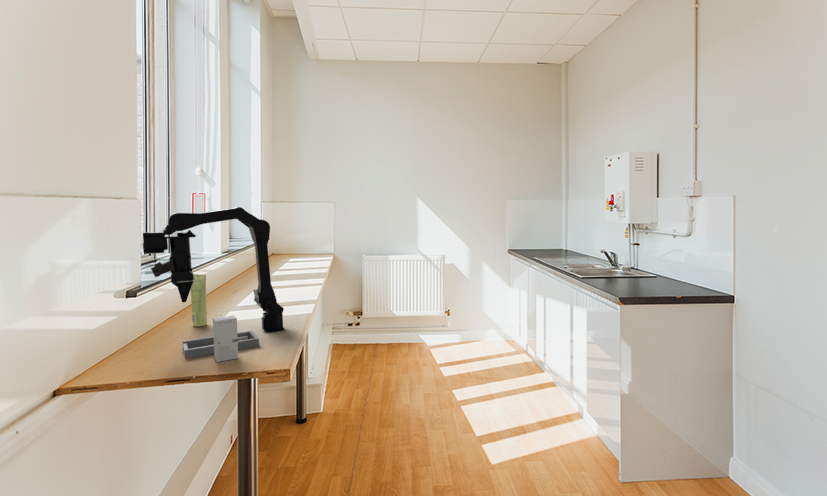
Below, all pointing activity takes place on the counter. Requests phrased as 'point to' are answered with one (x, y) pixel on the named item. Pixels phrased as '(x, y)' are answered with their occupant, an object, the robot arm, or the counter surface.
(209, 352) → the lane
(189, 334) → the counter surface
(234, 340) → the skincare box
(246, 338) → the pusher
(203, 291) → the tube
